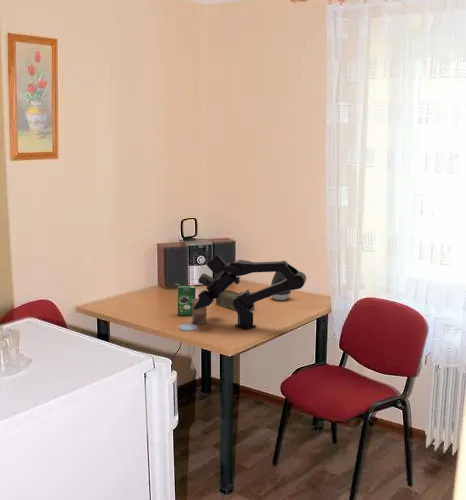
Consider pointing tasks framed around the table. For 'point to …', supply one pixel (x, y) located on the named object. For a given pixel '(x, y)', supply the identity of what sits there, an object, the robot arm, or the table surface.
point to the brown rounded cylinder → (198, 313)
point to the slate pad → (188, 327)
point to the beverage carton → (227, 299)
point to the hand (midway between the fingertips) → (197, 305)
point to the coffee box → (185, 299)
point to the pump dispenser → (276, 279)
